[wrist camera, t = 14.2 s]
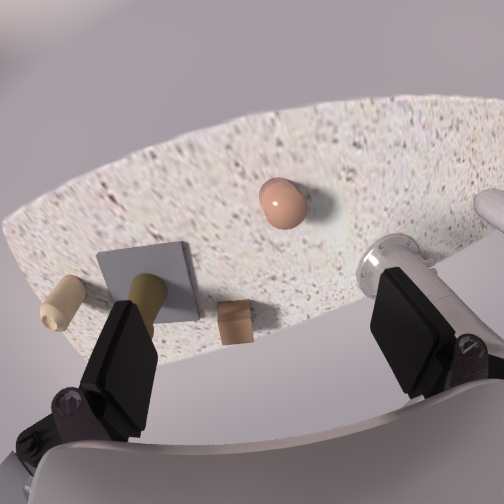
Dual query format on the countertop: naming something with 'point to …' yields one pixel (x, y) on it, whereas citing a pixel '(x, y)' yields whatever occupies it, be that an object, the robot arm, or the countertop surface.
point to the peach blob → (282, 203)
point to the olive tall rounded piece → (148, 297)
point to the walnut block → (235, 322)
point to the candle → (62, 303)
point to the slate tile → (159, 264)
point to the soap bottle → (491, 207)
